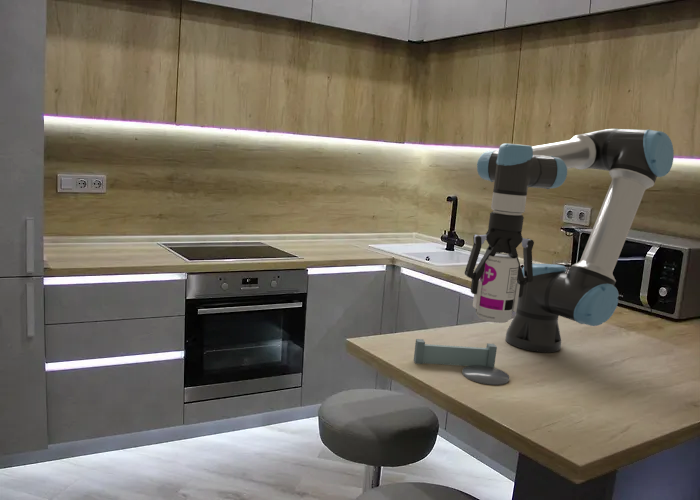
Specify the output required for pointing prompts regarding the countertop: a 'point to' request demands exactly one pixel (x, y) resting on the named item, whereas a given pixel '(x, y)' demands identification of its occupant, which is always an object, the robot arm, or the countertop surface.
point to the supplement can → (498, 288)
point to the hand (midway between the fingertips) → (494, 308)
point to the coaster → (485, 375)
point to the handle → (454, 354)
